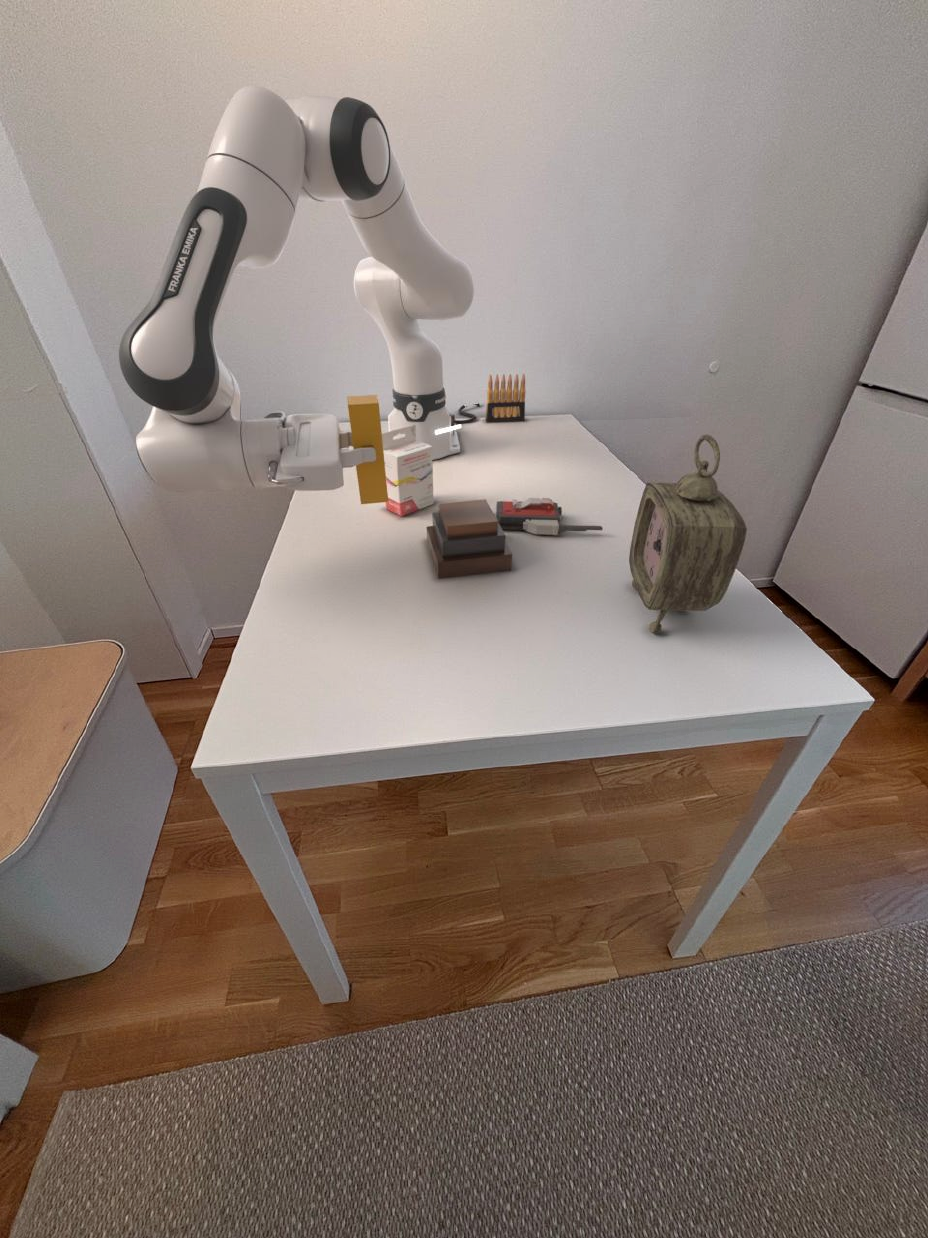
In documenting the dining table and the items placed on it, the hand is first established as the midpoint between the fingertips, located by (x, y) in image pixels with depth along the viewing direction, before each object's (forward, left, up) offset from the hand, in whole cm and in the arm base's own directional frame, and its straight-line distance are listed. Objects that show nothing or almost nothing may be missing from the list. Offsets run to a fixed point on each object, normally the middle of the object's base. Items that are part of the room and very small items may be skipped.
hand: (374, 445), depth 73 cm
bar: (0, -1, -8) cm, 8 cm away
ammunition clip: (-76, +16, -20) cm, 80 cm away
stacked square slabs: (-4, +13, -20) cm, 24 cm away
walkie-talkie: (-16, +26, -20) cm, 36 cm away
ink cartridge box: (-21, 0, -20) cm, 29 cm away
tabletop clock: (+8, +43, -20) cm, 48 cm away
